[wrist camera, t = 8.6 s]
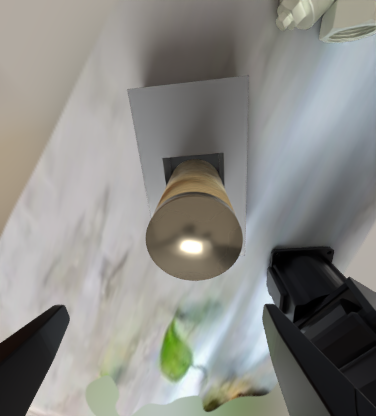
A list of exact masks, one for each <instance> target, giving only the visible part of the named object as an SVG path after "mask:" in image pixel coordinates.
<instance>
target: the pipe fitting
mask: <svg viewBox="0 0 376 416" xmlns="http://www.w3.org/2000/svg"><path fill="white" fill-rule="evenodd" d="M279 1H280V6H279V7H278V9H277V12H278V16H279V17H278V18H277V20H276V25H277V27H278V28H279V29H280V30H281V31H284V30H285V29H286V28H288V29H290V30H293V29H294V28H295V27H297V28H299V29H302V30H307V29H309V28H311V27H312V26H313V25H314V24H315V22H316V21H317V20H318V19H319V18H320V17H321V16H322V15H323V14H324V13H325V14H324V15H323V17H322V23H321V28H320V34H319V40H321V41H323V42H325V43H343V42H349V41H354V40H359V39H362V38H366V37H369V36H371V35H374V34H376V0H279Z"/></svg>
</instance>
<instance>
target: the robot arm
mask: <svg viewBox="0 0 376 416" xmlns="http://www.w3.org/2000/svg"><path fill="white" fill-rule="evenodd" d="M327 251H329V252H327ZM277 253H278V254H277ZM275 254H277V255H275ZM333 254H334V250H333V249H332V248H331V247H311V248H293V249H275V250H273V251H272V252H271V261H270V267H269V268H268V271H267V287H268V292H269V294H270V295H271V296H272V299H273V301H274V303H275V304H265V305H264V309H263V317H262V318H263V325H264V329H265V334H266V338H267V343H268V347H269V351H270V356H271V360H272V363H273V367H274V370H275V373H276V376H277V379H278V382H279V385H280V388H281V391H282V394H283V397H284V400H285V403H286V406H287V409H288V412H289V415H290V416H376V292H374V291H372V290H370V289H369V288H367V287H366V286H364V285H362V284H361V283H359V282H357V281H356V280H354V279H352V278H351V277H348V278H346V277H345V276H344V275H343V274H342V273H341V272H340V271H339V270H338V269H337V268H336V267H335V266H334V265H333V264H332V259H333ZM69 321H70V317H69V314H68V312H67V309H66V307H65V305H54V306H52V307H51V308H49V309H48V310H47V311H45V312H44V313H42V314H41V315H40V316H38V317H37V318H35V319H34V320H32V321H31V322H30V323H28V324H27V325H25V326H24V327H23V328H21V329H20V330H18V331H17V332H15V333H14V334H13V335H11V336H10V337H8V338H7V339H5V340H4V341H3V342H1V343H0V416H25V415H26V413H27V411H28V409H29V407H30V405H31V403H32V401H33V399H34V397H35V395H36V393H37V391H38V389H39V388H40V386H41V384H42V382H43V380H44V378H45V376H46V374H47V372H48V370H49V368H50V366H51V364H52V362H53V360H54V358H55V355H56V353H57V351H58V348H59V346H60V343H61V341H62V339H63V336H64V334H65V331H66V329H67V326H68V324H69Z"/></svg>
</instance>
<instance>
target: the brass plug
mask: <svg viewBox="0 0 376 416" xmlns="http://www.w3.org/2000/svg"><path fill="white" fill-rule="evenodd" d="M242 245H243V234H242V229H241V227H240V224H239V222H238V219H237V217H236V215H235V212H234V210H233V207H232V205H231V203H230V200H229V198H228V195H227V193H226V191H225V188H224V186H223V184H222V181H221V179H220V176H219V174H218V172H217V170H216V169H215V168H214V166H213V165H211V164H210V163H208V162H207V161H204V160H201V159H190V160H186V161H184V162H182V163H181V164H179V165H178V166H177V167H176V168H175V170H174V171H173V173H172V175H171V177H170V180H169V182H168V184H167V186H166V188H165V190H164V192H163V195H162V197H161V199H160V201H159V203H158V205H157V207H156V210H155V212H154V214H153V216H152V218H151V220H150V223H149V225H148V228H147V232H146V246H147V249H148V252H149V254H150V256H151V258H152V260H153V261H154V262H155V263H156V265H157V266H158V267H159V268H161V269H162V270H163V271H165V272H166V273H168V274H170V275H172V276H174V277H177V278H180V279H184V280H192V281H198V280H206V279H210V278H213V277H216V276H218V275H220V274H222V273H224V272H225V271H226V270H228V269H229V268H230V267H231V266H232V265H233V264H234V263H235V262H236V260H237V259H238V257H239V255H240V252H241V250H242Z"/></svg>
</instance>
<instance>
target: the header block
mask: <svg viewBox="0 0 376 416" xmlns="http://www.w3.org/2000/svg"><path fill="white" fill-rule="evenodd" d="M248 89H249V75H246V76H238V77H229V78H220V79H212V80H203V81H194V82H186V83H177V84H168V85H160V86H151V87H142V88H134V89H127V90H128V96H129V101H130V107H131V112H132V118H133V123H134V129H135V134H136V140H137V145H138V151H139V156H140V162H141V167H142V173H143V178H144V184H145V189H146V194H147V200H148V205H149V211H150V216H151V218H152V216H153V214H154V212H155V210H156V207H157V205H158V203H159V201H160V199H161V197H162V195H163V192H164V190H165V188H166V186H167V184H168V182H169V180H170V177H171V175H172V171H171V163H170V157H180V156H192V155H203V154H214V153H219V176H220V179H221V181H222V184H223V186H224V188H225V191H226V193H227V195H228V198H229V200H230V203H231V205H232V207H233V210H234V212H235V215H236V217H237V219H238V222H239V224H240V227H241V229H242V234H243V245H242V250H241V252H240V255H239V256H245V234H246V186H247V137H248Z"/></svg>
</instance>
